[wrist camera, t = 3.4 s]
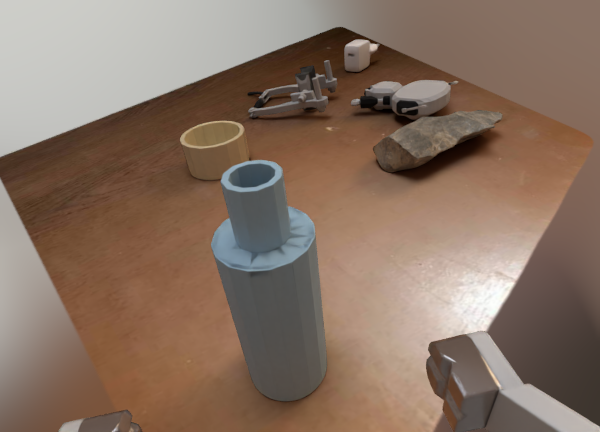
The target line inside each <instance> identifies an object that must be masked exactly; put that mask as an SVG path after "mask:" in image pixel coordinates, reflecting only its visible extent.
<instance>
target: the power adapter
mask: <svg viewBox="0 0 600 432" xmlns="http://www.w3.org/2000/svg"><path fill="white" fill-rule="evenodd" d="M377 47H379V44H376V45H375V44H370V42H369V41H368V40H354V41H352V42H350V43H349V44H347V45H346V46H345V69H346V71H351V72H360V71H361V70H363V69H365V68H366V67H368V66H369V63H370V55H371V54H372V53H374V52H376V50H377Z"/></svg>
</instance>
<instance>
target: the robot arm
mask: <svg viewBox="0 0 600 432" xmlns="http://www.w3.org/2000/svg"><path fill="white" fill-rule="evenodd" d="M428 351H429V353H430V355H431V356H430V357H429V358H428V359H427V362H426V370H427V375H428V379H429V382H430V384H431V387H432V389H433V391H434V393H435V394H436V395H437V396H439V397H440V398H442V399H443V400H444V403H443V409H442V410H443V412H444V414H445V416H446V418H447V420H448V422H449V424H450V426H451V428H452V430H453V432H466V431H470V430H475V429H480V428H485V427H486V428H485V430H487V431H488V432H600V427H599V426H598V425H596V424H594V423H592V422H591V421H589V420H588V419H586V418H584V417H583V416H581V415H580V414H578V413H576V412H575V411H573V410H571V409H570V408H568V407H567V406H565V405H563V404H562V403H560V402H558V401H557V400H555V399H554V398H552V397H550V396H548V395H547V394H545V393H544V392H542V391H541V390H539V389H537V388H535V387H534V386H532V385H531V384H525V385H524V384H523V382H522V381H521V380H520V378H519V377H518V375H517V374H516V373H515V371H514V370H513V368H512V367H511V365H510V364H509V363H508V361H507V360H506V358H505V357H504V356H503V354H502V353H501V351H500V350H499V348H498V347H497V346H496V344H495V343H494V341H493V340H492V338H491V337H490V336H489V334H488V333H486V332H485V331H478V332H473V333H469V334H463V335H459V336H455V337H451V338H447V339H442V340H438V341H434V342H431V343H430V344H429V348H428ZM131 421H132V415H131V413H130V412H129V411H128V410H122V411H118V412H113V413H109V414H104V415H100V416H95V417H91V418H84V419H80V420H75V421H71V422H67V423H64V424H63V425H62V427H61V428H60V430H59V431H58V432H142V429H141V427H140V426H139V424H136V423H133V422H131Z"/></svg>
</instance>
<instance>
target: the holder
mask: <svg viewBox="0 0 600 432" xmlns="http://www.w3.org/2000/svg"><path fill="white" fill-rule="evenodd" d="M180 142H181V145H182V149H183V152H184V155H185V159H186V162H187V165H188V168H189V171H190V173H191V175H192V176H194V177H195V178H198V179H202V180H218V179H222V176H223V173H224V172H226V171H227V170H228V169H230V168H231V167H232V166H235V165H237V164H240V163H243V162H246V161H250V159H249V151H248V146H247V140H246V135H245V130H244V127H243V126H242V125H241V124H239V123H236V122H233V121H214V122H208V123H204V124H200V125H198V126H195V127H193V128H191V129H189V130H187V131H186V132H185V133H183V134H182V136H181V138H180Z"/></svg>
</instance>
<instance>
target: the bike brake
mask: <svg viewBox="0 0 600 432" xmlns="http://www.w3.org/2000/svg"><path fill="white" fill-rule="evenodd" d="M324 64H325V69H326V74H327V79H326V78H325V74H324V75H320V76H319V74H315V69H314V66H308V67H303V68H300V69H301V73H298V74H295V77H296V81H297V84H296V85H288V86H282V87H278V88H273V89H267V90H265V92H264V93H263V92H249V93H248V95H254V94H260V95H261V96H260V97H259V100H258V101H257V102H256V104H255V106H254V108H250V109H249V113H250V117H252V118H255V117H257V116H260V115H270V114H276V113H280V112H285V111H290V110H295V109H301V108H304V111H306V110H313V109H317V110H319V112H324V111H325V108H326V105H327V104H328V103H329V102H328V97H327V96H322V94H321V90H320V89H324V88H328V90H329V91H330V92H331V93H333V92H335V89H336V85H337V80H336V78H333V76H332V71H331V67H330V62H329V60H326V61H324ZM285 92H299V93H292V94H291V98H292V101H290V102H287V103H284V104H281V105H277V106H273V107H267V108H261V107H262V105H263V103H265V102H266V101H267V100H268V99H269V98H270V96H271V95H276V94H280V93H285ZM262 96H263V97H262ZM267 97H268V98H267ZM265 99H266V100H265Z"/></svg>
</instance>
